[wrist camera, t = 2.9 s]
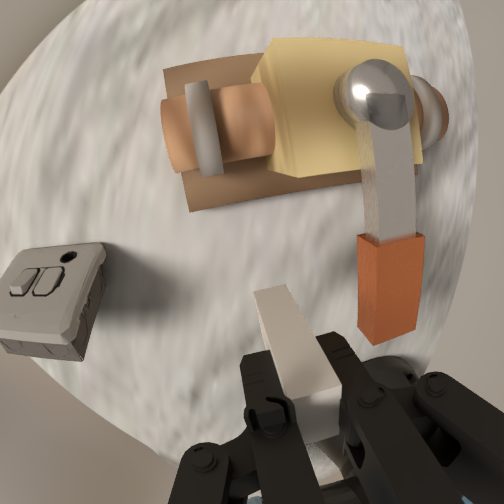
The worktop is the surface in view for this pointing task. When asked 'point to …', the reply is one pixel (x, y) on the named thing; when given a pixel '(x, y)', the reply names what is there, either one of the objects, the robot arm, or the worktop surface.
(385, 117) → the valve lever
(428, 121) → the valve manifold
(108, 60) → the worktop surface
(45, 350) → the electrical switch
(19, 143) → the worktop surface
